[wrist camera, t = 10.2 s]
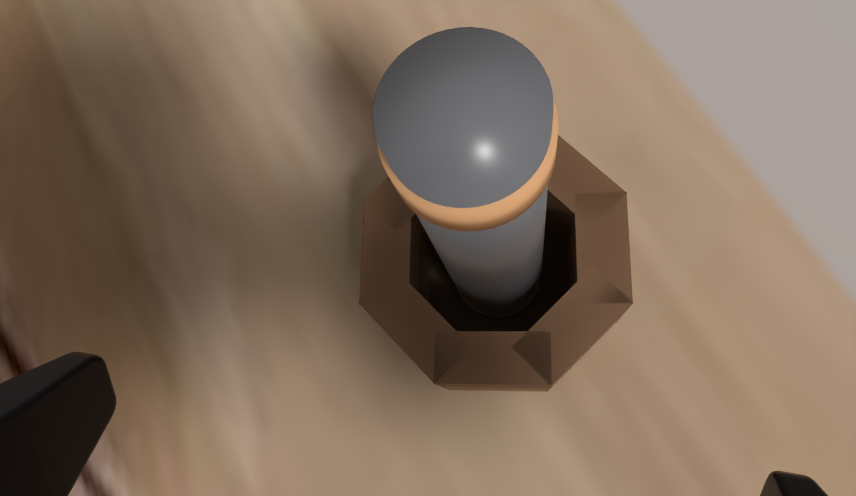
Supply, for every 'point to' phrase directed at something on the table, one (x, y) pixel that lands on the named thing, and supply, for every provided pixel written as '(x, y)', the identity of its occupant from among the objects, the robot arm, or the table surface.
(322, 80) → the table surface
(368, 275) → the bead
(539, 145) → the grey knob-topped cylinder
